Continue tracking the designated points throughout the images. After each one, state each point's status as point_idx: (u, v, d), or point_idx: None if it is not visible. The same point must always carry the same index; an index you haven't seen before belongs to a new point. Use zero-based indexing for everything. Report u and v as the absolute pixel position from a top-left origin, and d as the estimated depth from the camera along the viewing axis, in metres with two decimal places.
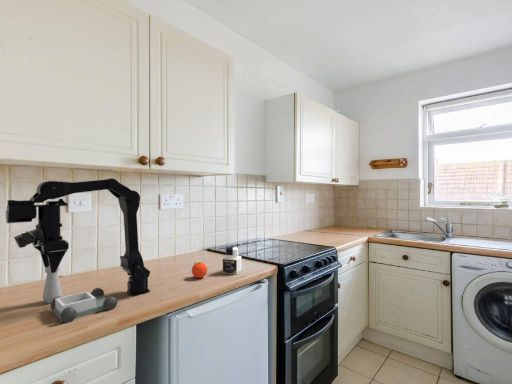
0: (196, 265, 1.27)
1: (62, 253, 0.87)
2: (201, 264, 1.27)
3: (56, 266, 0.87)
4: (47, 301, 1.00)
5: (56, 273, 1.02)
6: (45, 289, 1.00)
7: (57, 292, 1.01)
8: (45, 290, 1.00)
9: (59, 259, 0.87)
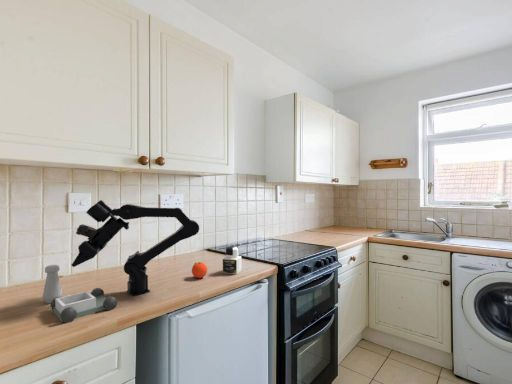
0: (196, 265, 1.27)
1: (88, 258, 0.99)
2: (201, 264, 1.27)
3: (77, 263, 0.99)
4: (47, 301, 1.00)
5: (56, 273, 1.02)
6: (45, 289, 1.00)
7: (57, 292, 1.01)
8: (45, 290, 1.00)
9: (83, 260, 0.99)
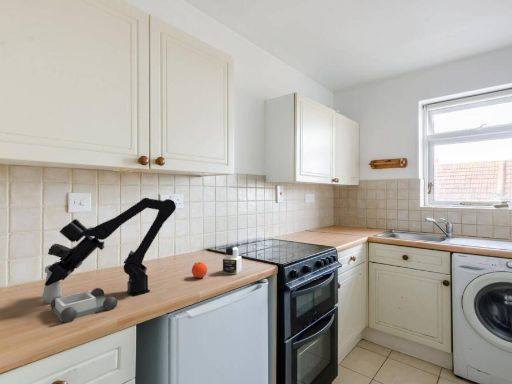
0: (196, 265, 1.27)
1: None
2: (201, 264, 1.27)
3: (50, 282, 0.99)
4: (47, 301, 1.00)
5: None
6: (45, 289, 1.00)
7: (57, 292, 1.01)
8: (45, 290, 1.00)
9: (56, 279, 0.99)
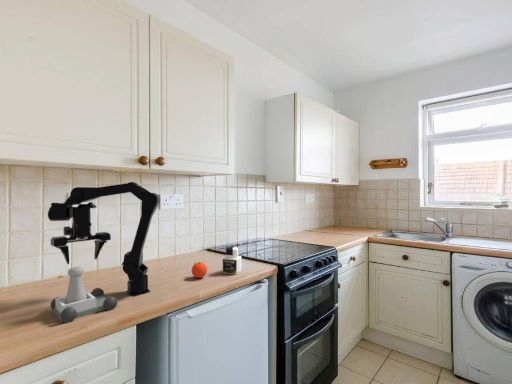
0: (196, 265, 1.27)
1: (63, 249, 1.01)
2: (201, 264, 1.27)
3: (66, 259, 1.03)
4: None
5: None
6: (73, 294, 0.91)
7: (85, 295, 0.93)
8: (73, 295, 0.91)
9: (64, 254, 1.02)
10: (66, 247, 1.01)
